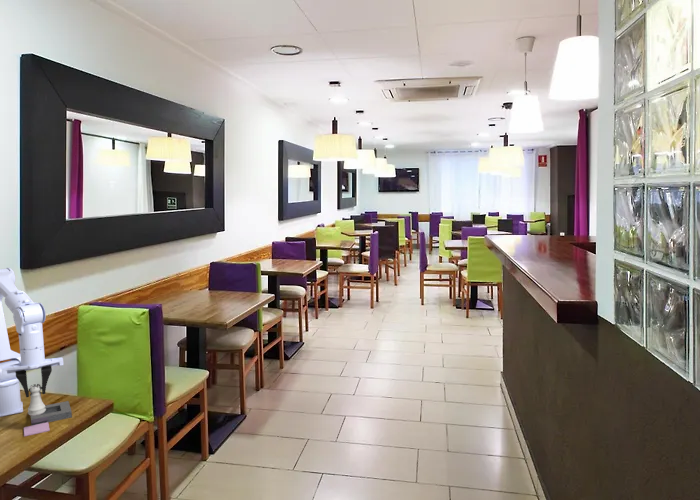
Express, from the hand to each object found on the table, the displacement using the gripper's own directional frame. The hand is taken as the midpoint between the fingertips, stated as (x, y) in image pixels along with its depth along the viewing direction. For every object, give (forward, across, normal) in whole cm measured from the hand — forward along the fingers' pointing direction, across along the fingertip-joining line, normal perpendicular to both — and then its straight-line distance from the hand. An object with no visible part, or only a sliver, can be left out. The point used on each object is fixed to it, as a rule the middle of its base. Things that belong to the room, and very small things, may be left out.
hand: (35, 394), depth 144 cm
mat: (+10, 0, -1) cm, 10 cm away
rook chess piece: (+6, 0, +1) cm, 6 cm away
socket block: (+10, +4, +8) cm, 13 cm away
